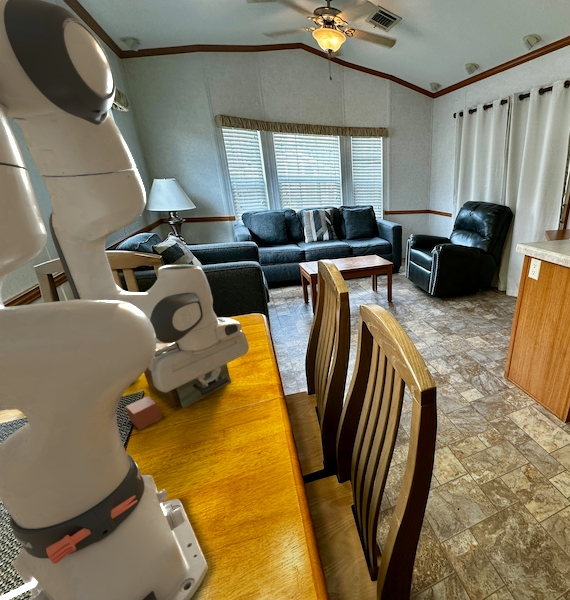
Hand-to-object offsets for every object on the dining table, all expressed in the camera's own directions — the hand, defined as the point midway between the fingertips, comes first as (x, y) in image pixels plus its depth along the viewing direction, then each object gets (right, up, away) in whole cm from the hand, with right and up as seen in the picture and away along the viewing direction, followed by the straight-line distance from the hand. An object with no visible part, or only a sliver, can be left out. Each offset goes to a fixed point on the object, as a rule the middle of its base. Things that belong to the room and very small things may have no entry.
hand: (211, 386), depth 78 cm
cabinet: (-11, -2, +8) cm, 14 cm away
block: (-12, -7, -4) cm, 14 cm away
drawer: (-6, -2, +5) cm, 8 cm away
